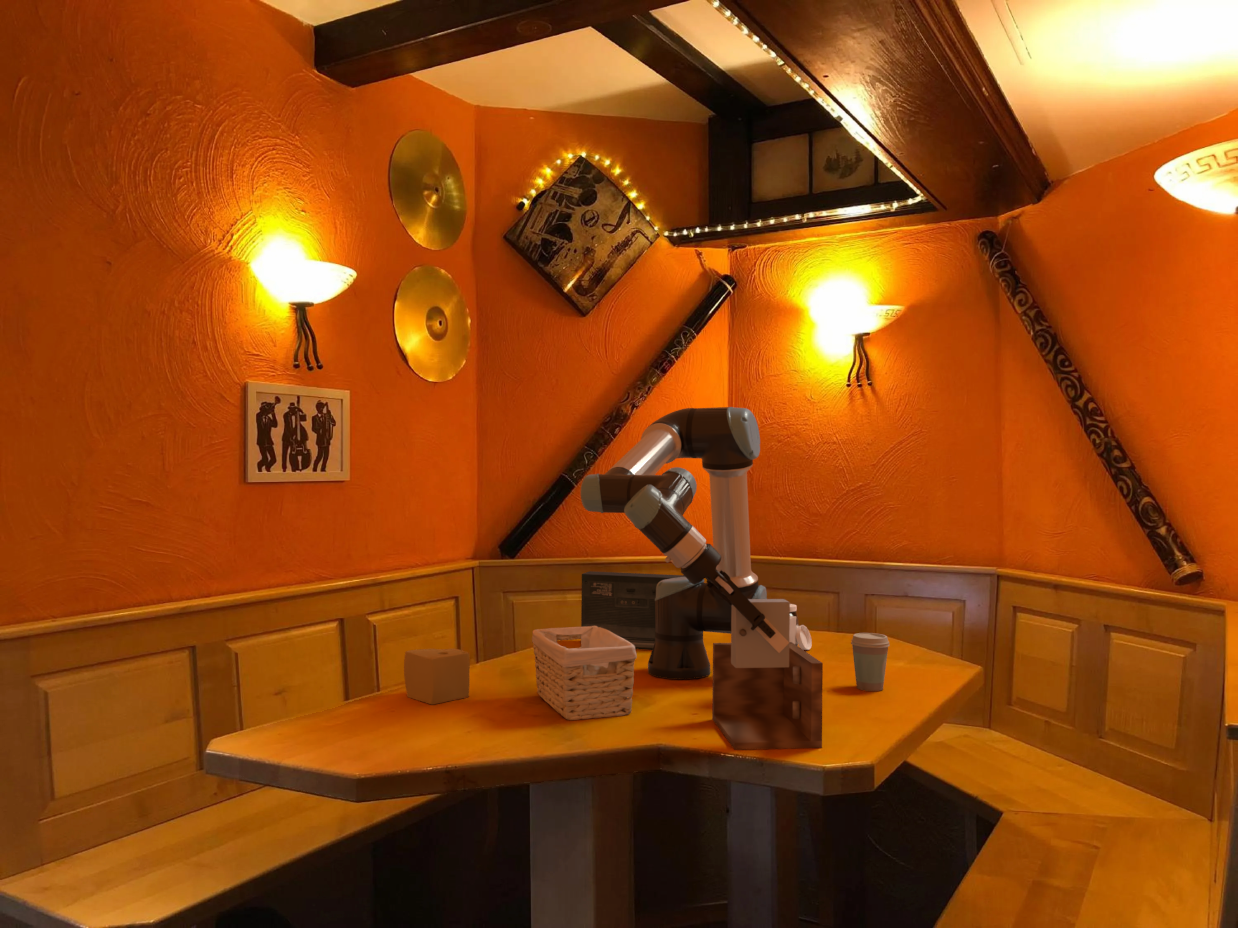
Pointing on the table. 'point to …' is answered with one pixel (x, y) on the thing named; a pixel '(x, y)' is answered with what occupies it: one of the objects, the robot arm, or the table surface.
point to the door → (760, 636)
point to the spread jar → (801, 632)
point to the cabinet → (768, 701)
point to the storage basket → (584, 672)
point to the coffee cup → (870, 660)
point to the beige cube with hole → (436, 675)
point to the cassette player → (622, 604)
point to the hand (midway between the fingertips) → (780, 644)
